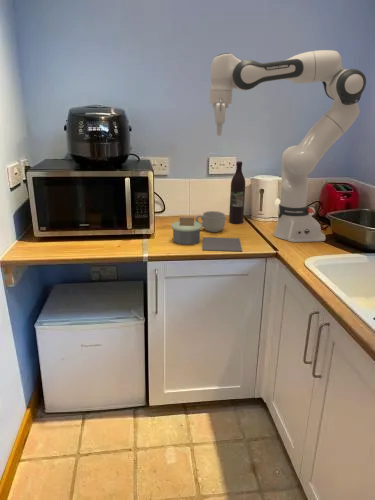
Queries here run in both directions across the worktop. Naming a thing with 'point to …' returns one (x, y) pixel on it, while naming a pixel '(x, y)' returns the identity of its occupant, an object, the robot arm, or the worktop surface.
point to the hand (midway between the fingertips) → (218, 134)
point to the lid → (186, 224)
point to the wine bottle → (237, 196)
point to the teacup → (212, 220)
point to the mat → (221, 244)
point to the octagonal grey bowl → (186, 237)
